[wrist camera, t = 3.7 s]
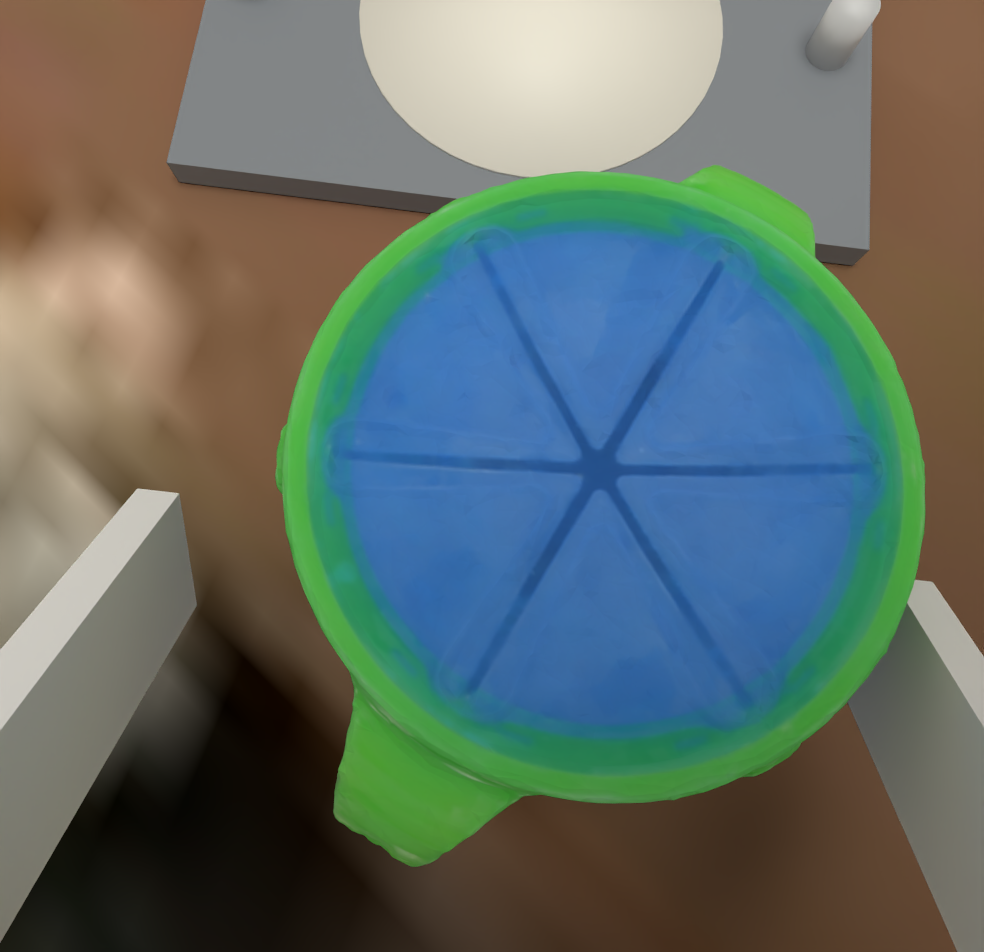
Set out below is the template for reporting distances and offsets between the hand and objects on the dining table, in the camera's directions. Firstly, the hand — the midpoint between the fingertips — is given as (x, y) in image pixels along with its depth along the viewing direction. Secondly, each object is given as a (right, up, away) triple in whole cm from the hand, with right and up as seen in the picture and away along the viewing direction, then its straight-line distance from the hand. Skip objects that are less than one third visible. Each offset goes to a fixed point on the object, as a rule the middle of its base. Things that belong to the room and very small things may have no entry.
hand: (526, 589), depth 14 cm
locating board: (+1, +17, +11) cm, 20 cm away
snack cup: (+1, 0, +8) cm, 8 cm away
